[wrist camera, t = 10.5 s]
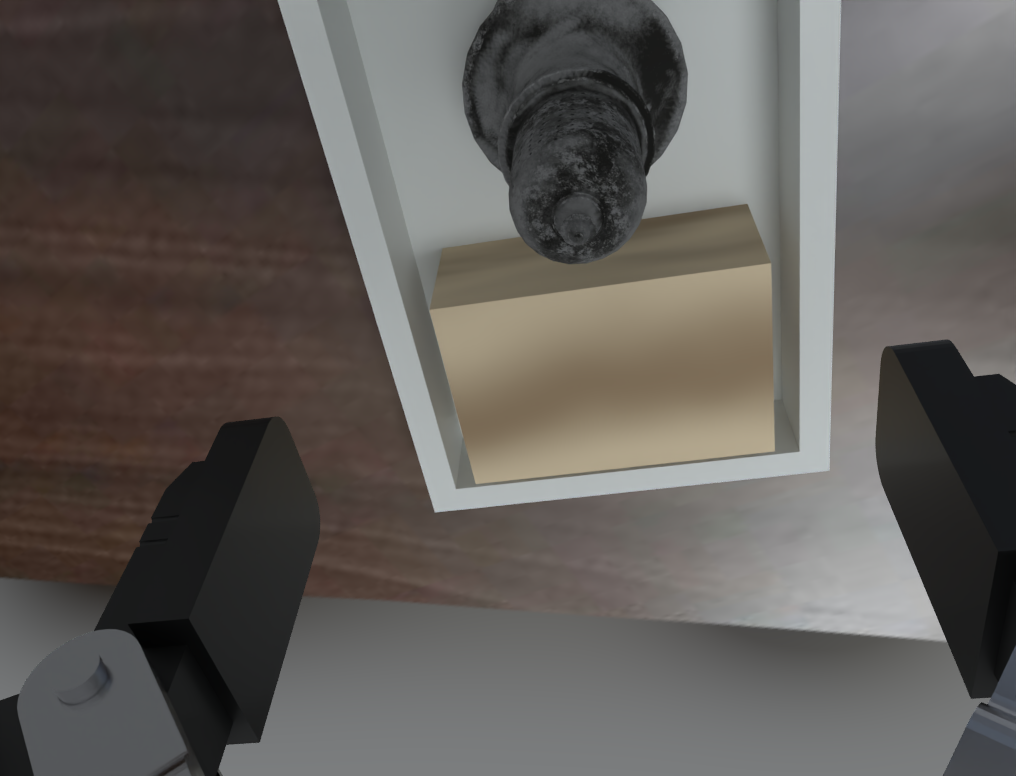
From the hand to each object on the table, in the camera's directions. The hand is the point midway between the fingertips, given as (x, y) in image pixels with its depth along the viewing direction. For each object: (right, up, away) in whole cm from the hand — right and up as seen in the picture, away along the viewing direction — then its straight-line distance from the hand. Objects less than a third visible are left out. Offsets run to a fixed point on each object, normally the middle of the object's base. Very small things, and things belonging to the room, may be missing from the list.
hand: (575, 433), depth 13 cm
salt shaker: (+1, +10, +15) cm, 18 cm away
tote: (+2, +7, +18) cm, 19 cm away
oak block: (+2, +3, +20) cm, 20 cm away
